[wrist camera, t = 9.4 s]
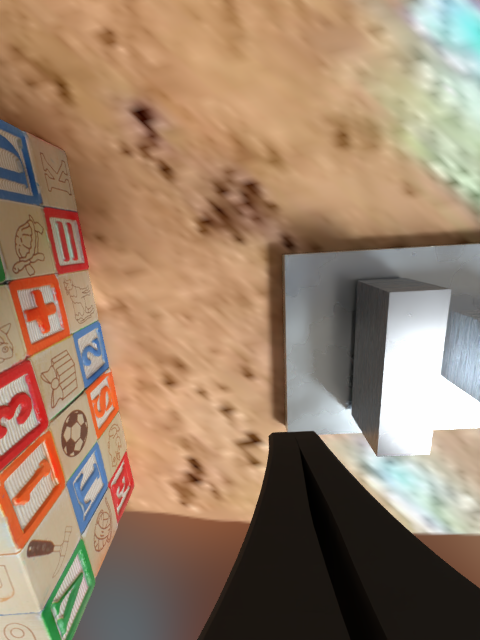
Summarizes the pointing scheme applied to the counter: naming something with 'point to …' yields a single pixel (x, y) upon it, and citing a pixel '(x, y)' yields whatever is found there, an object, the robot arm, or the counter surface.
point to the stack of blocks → (51, 402)
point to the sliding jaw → (398, 363)
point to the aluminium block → (464, 352)
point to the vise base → (340, 320)
